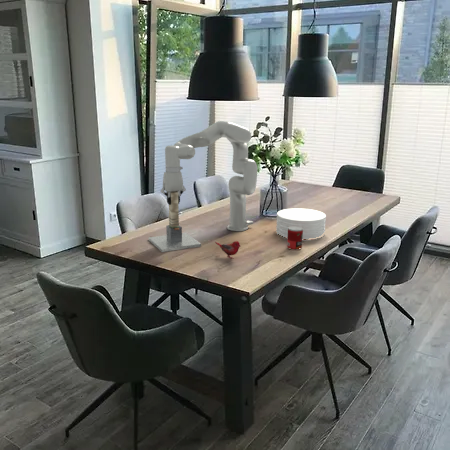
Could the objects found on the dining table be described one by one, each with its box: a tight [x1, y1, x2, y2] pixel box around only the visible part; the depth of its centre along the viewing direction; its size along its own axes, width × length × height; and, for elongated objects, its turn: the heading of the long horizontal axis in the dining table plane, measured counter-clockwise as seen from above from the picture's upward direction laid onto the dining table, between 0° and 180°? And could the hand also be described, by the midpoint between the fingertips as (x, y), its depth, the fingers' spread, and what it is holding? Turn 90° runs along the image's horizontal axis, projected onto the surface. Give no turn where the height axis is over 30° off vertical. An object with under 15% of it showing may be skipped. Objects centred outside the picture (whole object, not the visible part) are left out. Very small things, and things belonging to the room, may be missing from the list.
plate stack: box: [275, 207, 327, 239], centre depth 290 cm, size 28×28×12 cm
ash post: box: [168, 191, 180, 228], centre depth 266 cm, size 4×4×20 cm
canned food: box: [286, 226, 303, 250], centre depth 264 cm, size 8×8×11 cm
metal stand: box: [148, 224, 202, 253], centre depth 270 cm, size 22×22×10 cm
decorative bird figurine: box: [214, 240, 241, 259], centre depth 249 cm, size 3×18×10 cm, turn 47°
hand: (173, 203), depth 265 cm, fingers closed on ash post, 4 cm apart
